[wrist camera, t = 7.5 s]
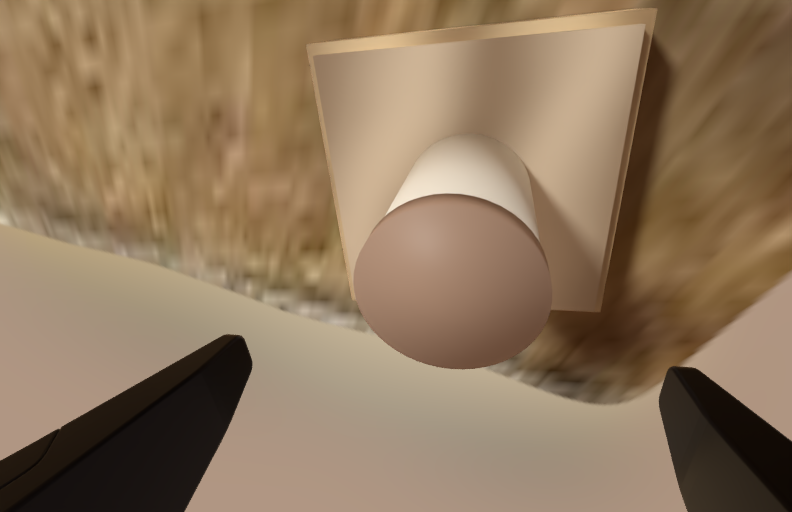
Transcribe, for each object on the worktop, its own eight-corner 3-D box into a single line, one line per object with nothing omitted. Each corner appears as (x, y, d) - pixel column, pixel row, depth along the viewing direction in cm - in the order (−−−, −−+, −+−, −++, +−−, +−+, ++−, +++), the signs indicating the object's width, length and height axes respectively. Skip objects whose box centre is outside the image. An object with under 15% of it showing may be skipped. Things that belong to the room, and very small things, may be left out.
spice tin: (538, 127, 15) (562, 205, 9) (529, 252, 17) (543, 376, 11) (399, 134, 16) (338, 206, 10) (409, 249, 19) (367, 361, 13)
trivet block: (634, 8, 15) (663, 7, 12) (589, 282, 21) (602, 319, 18) (328, 40, 18) (300, 45, 15) (365, 274, 24) (349, 305, 21)
